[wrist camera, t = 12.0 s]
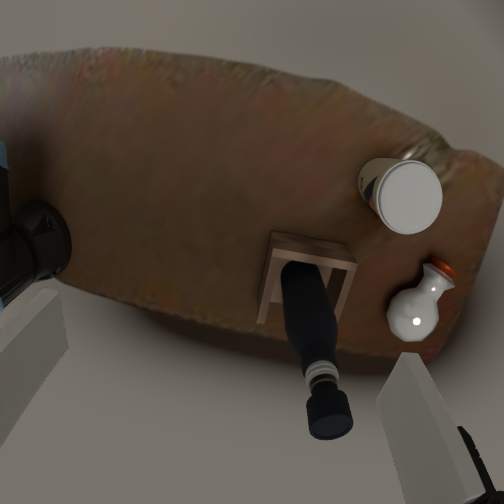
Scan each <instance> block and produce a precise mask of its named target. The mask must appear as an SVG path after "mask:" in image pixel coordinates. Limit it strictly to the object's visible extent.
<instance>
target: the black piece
mask: <svg viewBox="0 0 504 504" xmlns="http://www.w3.org/2000/svg"><path fill="white" fill-rule="evenodd" d="M280 280H281V290H282V300H283V310H284V320H285V330H286V334H287V337H288V339H289V342H290V344H291V346H292V348H293V350H294V351H295V353H296V354H297V355H298V357H299V358H300V359H301V366H302V372H303V376H304V377H305V378H306V384H307V386H308V387H309V389H310V390H311V394H312V396H311V397H310V398H309V399H308V401H307V404H306V408H307V415H308V424H309V431H310V434H311V435H312V436H313V437H314V438H316V439H319V440H333V439H337V438H339V437H342V436H344V435H345V434H347V433H348V432H349V431H350V430H351V429H352V427H353V419H352V415H351V411H350V407H349V403H348V399H347V395H346V394H345V393H344V392H343V391H341V390H338V386H337V384H338V379H339V375H338V372H337V371H338V364H337V360H336V356H335V352H334V351H335V347H336V342H337V337H338V327H337V320H336V316H335V313H334V310H333V308H332V305H331V302H330V299H329V296H328V293H327V291H326V288H325V285H324V282H323V279H322V277H321V274H320V271H319V268H318V267H317V265H316V264H311V263H306V262H300V261H294V260H291V261H290V262H288V263H287V264H286V265H285V266H284V267H283V269H282V271H281V276H280Z"/></svg>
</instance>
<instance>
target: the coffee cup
mask: <svg viewBox="0 0 504 504" xmlns="http://www.w3.org/2000/svg"><path fill="white" fill-rule="evenodd" d="M358 188H359V191H360V194H361V195H362V197H363V199H364V200H365V201H366V202H367V203H368V204H369V206H370V207H371V208H372V209H373V210H374V211H375V212H376V213H377V215H378V216H379V217H380V218H381V220H382V221H383V222H384V224H385V225H386V226H387V227H389V228H390V229H391V230H393V231H395V232H397V233H401V234H414V233H417V232H420V231H422V230H424V229H426V228H427V227H428V226H430V225H431V224H432V223H433V221H434V220H435V219H436V217H437V215H438V213H439V211H440V208H441V204H442V189H441V185H440V182H439V180H438V178H437V176H436V174H435V173H434V172H433V170H432V169H431V168H430V167H428V166H427V165H425V164H424V163H422V162H419V161H415V160H401V159H392V158H376V159H373V160H371V161H369V162H368V163H366V164H365V165H364V166H363V168H362V169H361V171H360V174H359V177H358Z"/></svg>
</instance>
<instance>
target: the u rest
mask: <svg viewBox="0 0 504 504" xmlns="http://www.w3.org/2000/svg"><path fill="white" fill-rule="evenodd" d="M291 260H294V261H300V262H306V263H311V264H316V265H317V267H318V268H319V271H320V274H321V277H322V279H323V282H324V285H325V288H326V291H327V293H328V296H329V299H330V302H331V305H332V308H333V310H334V313H335V316H336V320H337V324H338V321H339V318H340V316H341V313H342V310H343V307H344V304H345V301H346V299H347V296H348V293H349V290H350V287H351V284H352V281H353V278H354V275H355V272H356V269H357V266H358V263H357V261H356V260H355V258H354V257H353V255H352V253H351V252H350V250H349V249H348V247H347V246H346V245H345V244H340V243H335V242H330V241H325V240H320V239H315V238H310V237H305V236H299V235H294V234H289V233H284V232H278V231H273V230H272V232H271V237H270V242H269V246H268V251H267V256H266V261H265V265H264V270H263V275H262V279H261V284H260V288H259V293H258V298H257V322H256V323H259V324H265V320H266V316H267V312H268V308H269V304H270V302H275V303H281V304H283V300H282V290H281V280H280V276H281V271H282V269H283V267H284V266H285V265H286V264H287V263H288V262H290V261H291Z"/></svg>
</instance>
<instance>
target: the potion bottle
mask: <svg viewBox="0 0 504 504" xmlns="http://www.w3.org/2000/svg"><path fill="white" fill-rule="evenodd" d="M431 258H432V261H431V264H423V268H424V277H423V279H422V280H421V282H420V283H419V285H418V286H417V288H408V289H403V290H402V291H400V292H399V293H398V294H397V295H395V296H394V297H393V298H391V301H390V304H389V307H388V311H387V314H386V316H387V320H388V325H389V327H390V329H391V331H392V333H393V334H394V335H395V336H396V337H397V338H399V339H401V340H403V341H422V340H423V339H424V338H426V337H427V336H428V335H429V334H430V333H432V332H433V331H434V329H435V327H436V324H437V322H438V319H439V316H438V309H437V300H438V299H439V297H440V296H441V294H442V293H443V291H444V290H447V289H450V288H453V287H455V285H454V282H453V280H452V279H453V278H454V277H455V276H458V275H459V274H458V273H457V272H456V271H454V270H453V269H452V268H451V267H449V266H448V265H447V264H445V263H444V262H442V261H441V260H439V259H438V258H436V257H435V256H433V255H431Z"/></svg>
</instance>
